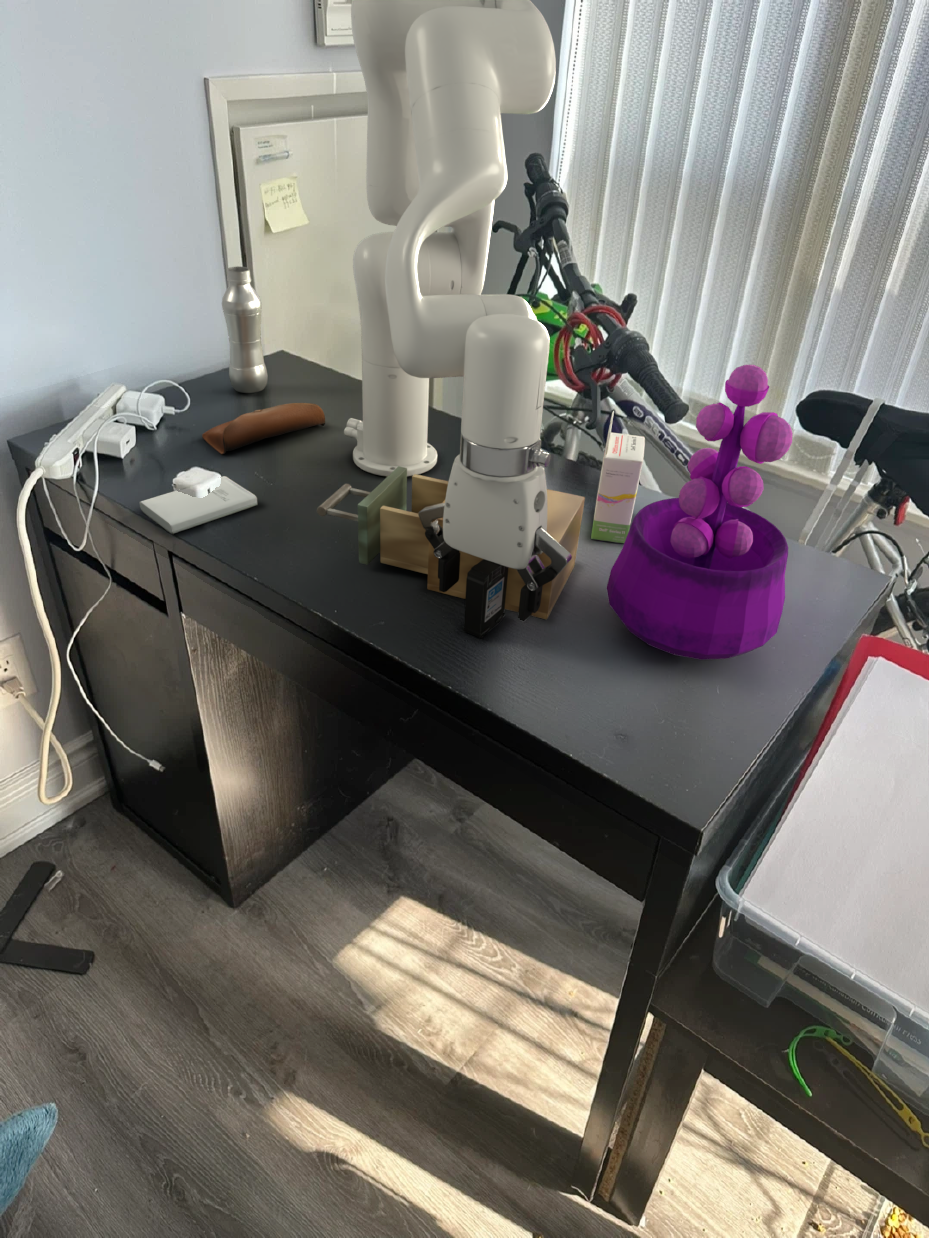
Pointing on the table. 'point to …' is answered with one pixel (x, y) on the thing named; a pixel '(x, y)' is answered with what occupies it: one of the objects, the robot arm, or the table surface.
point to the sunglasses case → (263, 425)
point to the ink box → (618, 486)
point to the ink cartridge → (485, 597)
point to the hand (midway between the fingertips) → (487, 600)
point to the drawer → (391, 519)
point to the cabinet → (562, 528)
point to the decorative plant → (710, 542)
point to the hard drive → (197, 506)
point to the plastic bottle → (244, 332)
